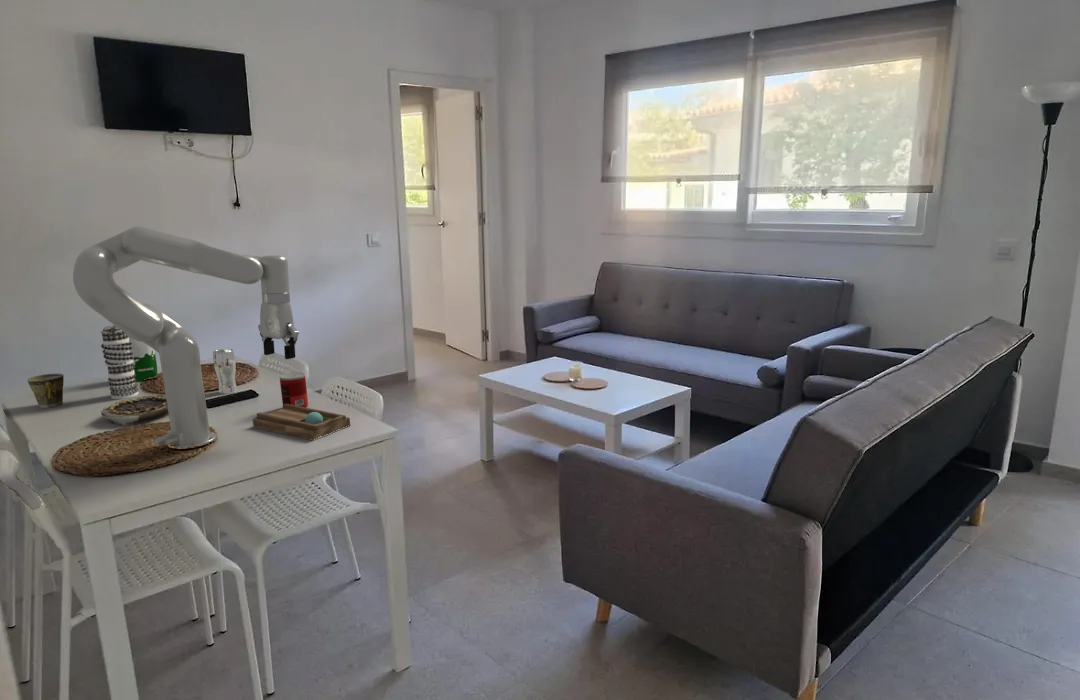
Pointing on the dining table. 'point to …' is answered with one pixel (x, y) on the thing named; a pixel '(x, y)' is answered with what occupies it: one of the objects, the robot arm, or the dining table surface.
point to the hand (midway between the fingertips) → (279, 356)
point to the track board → (300, 422)
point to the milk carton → (143, 360)
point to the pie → (137, 410)
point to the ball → (314, 418)
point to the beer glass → (225, 370)
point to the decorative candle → (119, 363)
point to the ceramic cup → (47, 389)
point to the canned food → (294, 389)
